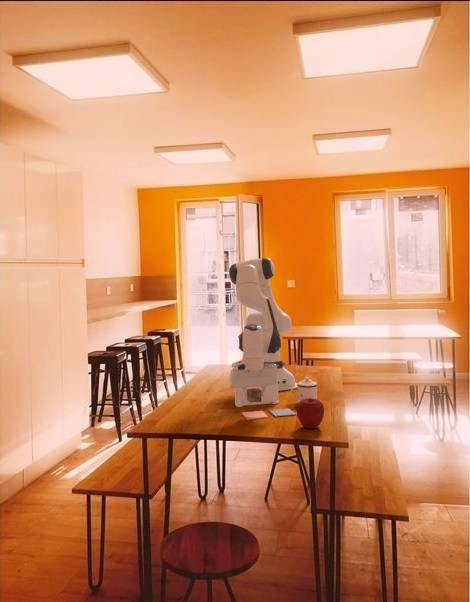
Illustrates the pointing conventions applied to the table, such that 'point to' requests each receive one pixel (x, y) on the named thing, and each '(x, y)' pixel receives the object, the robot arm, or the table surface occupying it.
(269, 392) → the screen
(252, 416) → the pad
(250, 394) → the cube with pink top
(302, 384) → the teacup with lid
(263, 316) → the robot arm
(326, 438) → the table surface
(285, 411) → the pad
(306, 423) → the apple
